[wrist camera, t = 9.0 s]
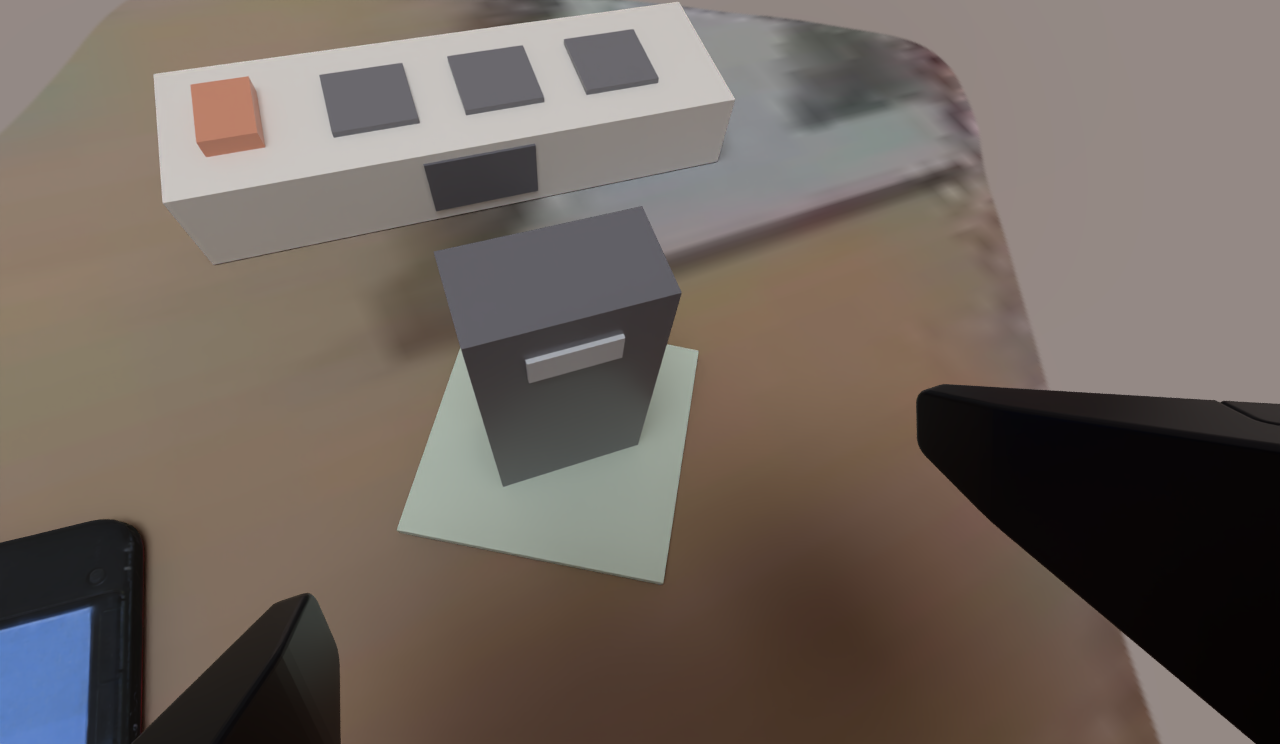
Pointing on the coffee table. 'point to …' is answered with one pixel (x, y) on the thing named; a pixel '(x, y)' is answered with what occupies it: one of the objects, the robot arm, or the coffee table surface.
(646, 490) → the felt coaster
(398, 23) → the coffee table surface
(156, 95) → the power strip
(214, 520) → the coffee table surface
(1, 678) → the handheld game console
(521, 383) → the brick
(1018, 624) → the coffee table surface
